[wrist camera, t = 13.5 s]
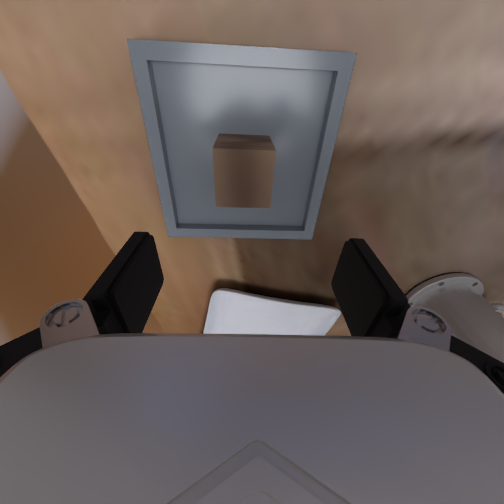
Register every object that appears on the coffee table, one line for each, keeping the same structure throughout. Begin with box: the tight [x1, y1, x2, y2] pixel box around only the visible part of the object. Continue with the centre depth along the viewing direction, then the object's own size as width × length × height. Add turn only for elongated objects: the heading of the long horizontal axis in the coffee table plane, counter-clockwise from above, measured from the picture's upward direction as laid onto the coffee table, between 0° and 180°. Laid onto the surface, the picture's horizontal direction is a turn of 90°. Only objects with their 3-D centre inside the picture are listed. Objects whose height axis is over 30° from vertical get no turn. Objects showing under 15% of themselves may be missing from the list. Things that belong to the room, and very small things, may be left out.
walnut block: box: [212, 134, 276, 208], centre depth 22 cm, size 5×5×6 cm
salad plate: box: [203, 288, 341, 336], centre depth 42 cm, size 21×21×3 cm
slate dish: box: [127, 39, 357, 239], centre depth 24 cm, size 18×18×2 cm
